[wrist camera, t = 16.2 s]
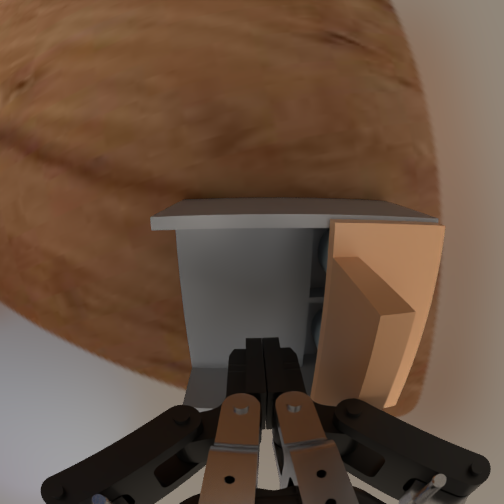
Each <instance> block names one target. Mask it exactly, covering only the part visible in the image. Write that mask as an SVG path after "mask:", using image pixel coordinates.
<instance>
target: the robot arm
mask: <svg viewBox="0 0 504 504" xmlns="http://www.w3.org/2000/svg"><path fill="white" fill-rule="evenodd" d="M265 421H266V429H272V433H273V442H272V444H273V450H274V455H275V460H276V465H277V470H278V475H279V481H280V490H266V489H260V488H257V485H258V466H259V446H260V442H261V434H262V432H261V431H262V429H265ZM205 465H206V469H205V473H204V478H203V483H202V489H201V493H200V494H197V495H194V496H192V497H190V498H188V499H186V500H184V501H183V502H181V503H180V504H386V503H384V502H382V501H381V500H379V499H377V498H376V497H374V496H372V495H371V494H369V493H367V492H366V491H364V490H362V489H359V488H357V487H354V486H352V484H351V482H350V479H349V477H348V474H347V472H349V473H350V474H352V475H353V476H355V477H357V478H359V479H360V480H362V481H364V482H365V483H367V484H369V485H371V486H372V487H374V488H376V489H378V490H380V491H382V492H384V493H385V494H387V495H389V496H391V497H393V498H395V499H397V500H399V504H464V503H465V501H466V499H467V497H468V496H469V495H470V494H471V493H472V492H473V491H474V490H475V489H476V488H478V487H479V486H480V485H481V484H482V483H483V482H484V481H486V479H487V478H488V476H489V474H490V463H489V461H488V460H487V459H486V458H485V457H484V456H482V455H480V454H477V453H474V452H472V451H469V450H466V449H464V448H462V447H459V446H457V445H454V444H452V443H450V442H447V441H445V440H443V439H440V438H438V437H436V436H434V435H431V434H429V433H427V432H425V431H423V430H420V429H418V428H416V427H414V426H412V425H410V424H407V423H406V422H404V421H402V420H400V419H398V418H396V417H394V416H392V415H390V414H388V413H386V412H384V411H382V410H380V409H378V408H376V407H374V406H372V405H370V404H368V403H366V402H365V401H362V400H360V399H355V398H351V399H345V400H343V401H341V402H340V403H338V405H337V406H328V405H321V404H318V403H316V402H314V401H313V400H312V399H311V398H310V397H309V396H308V395H307V393H306V389H305V385H304V381H303V377H302V373H301V370H300V365H299V361H298V357H297V354H296V353H295V352H294V351H293V350H292V349H291V348H290V347H285V348H280V343H279V338H278V337H266V338H246V349H234V350H233V351H232V352H231V354H230V355H229V361H228V375H227V389H226V398H225V400H224V401H223V403H222V404H221V405H220V406H218V407H217V408H214V409H212V410H208V411H203V412H199V411H198V410H197V409H196V408H194V407H192V406H189V405H177V406H174V407H172V408H170V409H168V410H167V411H165V412H163V413H162V414H160V415H159V416H157V417H156V418H154V419H153V420H151V421H150V422H148V423H146V424H145V425H143V426H142V427H140V428H138V429H137V430H135V431H134V432H132V433H130V434H129V435H127V436H125V437H124V438H122V439H120V440H119V441H117V442H115V443H113V444H112V445H110V446H108V447H106V448H105V449H103V450H101V451H99V452H98V453H96V454H94V455H92V456H90V457H88V458H86V459H85V460H83V461H81V462H79V463H77V464H75V465H73V466H71V467H69V468H67V469H65V470H63V471H61V472H59V473H57V474H55V475H53V476H51V477H49V478H47V479H46V480H45V481H44V482H43V484H42V486H41V495H42V498H43V500H44V501H45V502H46V504H154V503H156V502H157V501H159V500H160V499H161V498H163V497H165V496H166V495H167V494H169V493H170V492H172V491H173V490H174V489H176V488H177V487H178V486H180V485H181V484H182V483H184V482H185V481H186V480H188V479H189V478H190V477H191V476H193V475H194V474H195V473H196V472H198V471H199V470H200V469H201V468H203V467H204V466H205Z"/></svg>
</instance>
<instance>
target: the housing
mask: <svg viewBox="0 0 504 504" xmlns="http://www.w3.org/2000/svg"><path fill="white" fill-rule="evenodd" d="M330 219H355V220H390V221H416V222H437V223H438V218H435V217H432V216H429V215H427V214H424V213H421V212H418V211H415V210H412V209H409V208H406V207H403V206H400V205H397V204H393V203H390V202H387V201H379V200H359V199H333V198H211V199H185V200H182V201H180V202H178V203H176V204H174V205H172V206H170V207H168V208H166V209H165V210H163V211H161V212H159V213H157V214H155V215H153V216H152V217H150V220H151V230H176V242H177V253H178V264H179V274H180V283H181V292H182V300H183V308H184V316H185V323H186V330H187V337H188V344H189V350H190V356H191V362H192V371H191V374H190V378H189V382H188V386H187V390H186V394H185V398H184V402H183V405H189V406H192V407H194V408H196V409H197V410H198V411H199V412H203V411H208V410H212V409H214V408H217V407H218V406H220V405H221V404H222V403H223V401H224V400H225V398H226V389H227V375H228V361H229V355H230V354H231V352H232V351H233V350H234V349H246V338H266V337H278V338H279V343H280V348H285V347H290V348H291V349H292V350H293V351H294V352H295V353H296V354H297V357H298V361H299V365H300V370H301V373H302V377H303V381H304V385H305V389H306V393H307V395H308V396H309V397H310V395H311V389H312V383H313V377H314V371H315V365H316V358H317V351H318V350H317V347H316V344H315V341H314V338H313V335H312V332H311V324H312V320H313V318H314V316H315V315H316V313H317V312H318V311H319V310H320V309H321V308H322V307H323V303H324V294H325V283H326V272H325V271H324V269H323V268H322V266H321V264H320V262H319V259H318V246H319V243H320V240H321V238H322V236H323V235H324V233H325V232H326V231H327V230H328V229H329V228H330Z"/></svg>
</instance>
